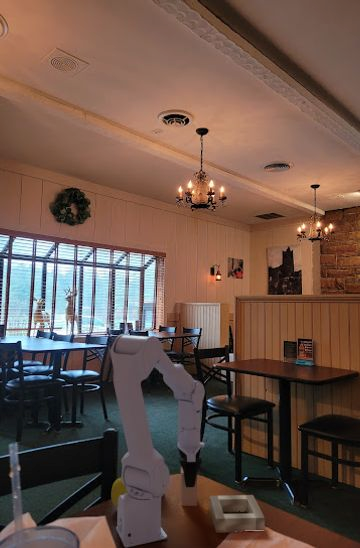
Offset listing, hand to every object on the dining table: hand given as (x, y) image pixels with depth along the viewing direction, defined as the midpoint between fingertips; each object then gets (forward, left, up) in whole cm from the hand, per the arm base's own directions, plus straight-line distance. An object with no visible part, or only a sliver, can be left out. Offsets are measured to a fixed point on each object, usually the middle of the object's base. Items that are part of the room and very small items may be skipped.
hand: (188, 480), depth 106 cm
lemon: (-17, +2, -6) cm, 18 cm away
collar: (+7, -12, -5) cm, 15 cm away
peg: (0, 0, -5) cm, 5 cm away
